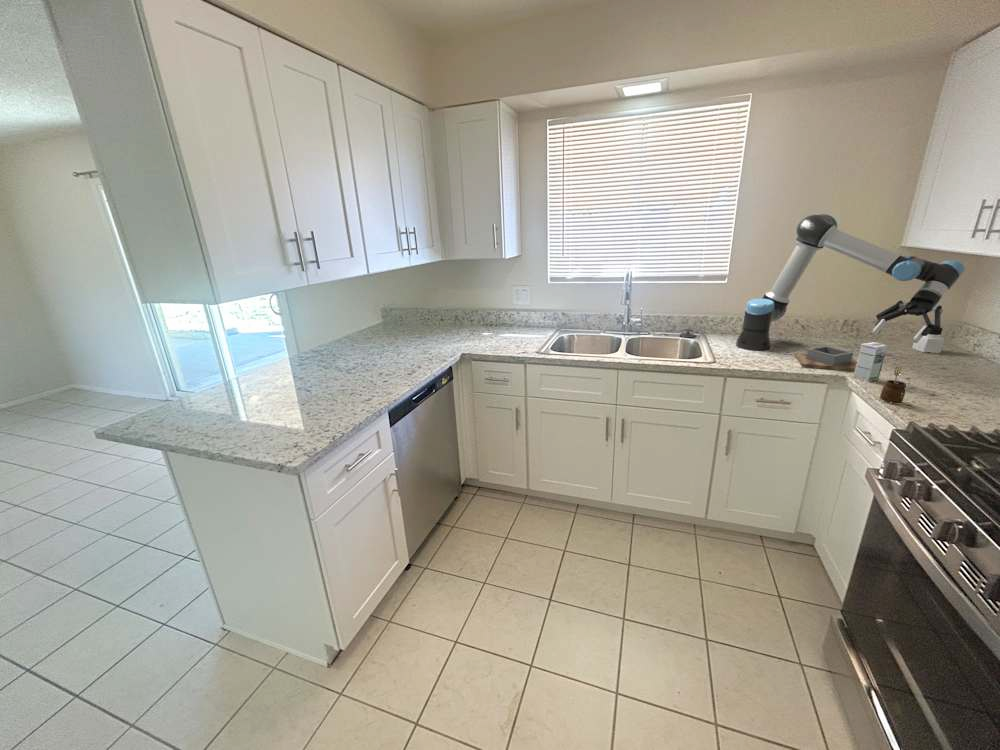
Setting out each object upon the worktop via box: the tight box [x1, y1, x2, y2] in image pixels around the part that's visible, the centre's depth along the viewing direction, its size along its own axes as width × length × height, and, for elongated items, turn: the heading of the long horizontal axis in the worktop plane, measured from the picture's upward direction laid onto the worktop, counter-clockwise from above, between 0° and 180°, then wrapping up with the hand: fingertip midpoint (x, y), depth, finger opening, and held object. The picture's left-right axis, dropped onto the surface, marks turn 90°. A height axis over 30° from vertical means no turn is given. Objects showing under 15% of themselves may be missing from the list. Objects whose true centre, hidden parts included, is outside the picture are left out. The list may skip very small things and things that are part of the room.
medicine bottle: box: [911, 326, 946, 354], centre depth 195 cm, size 7×7×12 cm
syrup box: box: [853, 341, 888, 382], centre depth 165 cm, size 6×6×14 cm
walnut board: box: [793, 352, 857, 372], centre depth 185 cm, size 22×17×2 cm
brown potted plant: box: [879, 365, 907, 404], centre depth 145 cm, size 6×6×12 cm
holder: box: [806, 345, 854, 366], centre depth 184 cm, size 12×12×4 cm
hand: (893, 337), depth 165 cm, fingers open, 13 cm apart
